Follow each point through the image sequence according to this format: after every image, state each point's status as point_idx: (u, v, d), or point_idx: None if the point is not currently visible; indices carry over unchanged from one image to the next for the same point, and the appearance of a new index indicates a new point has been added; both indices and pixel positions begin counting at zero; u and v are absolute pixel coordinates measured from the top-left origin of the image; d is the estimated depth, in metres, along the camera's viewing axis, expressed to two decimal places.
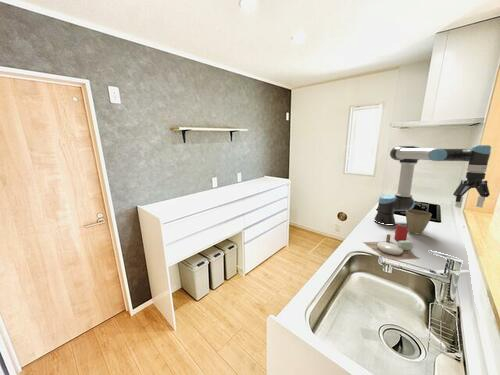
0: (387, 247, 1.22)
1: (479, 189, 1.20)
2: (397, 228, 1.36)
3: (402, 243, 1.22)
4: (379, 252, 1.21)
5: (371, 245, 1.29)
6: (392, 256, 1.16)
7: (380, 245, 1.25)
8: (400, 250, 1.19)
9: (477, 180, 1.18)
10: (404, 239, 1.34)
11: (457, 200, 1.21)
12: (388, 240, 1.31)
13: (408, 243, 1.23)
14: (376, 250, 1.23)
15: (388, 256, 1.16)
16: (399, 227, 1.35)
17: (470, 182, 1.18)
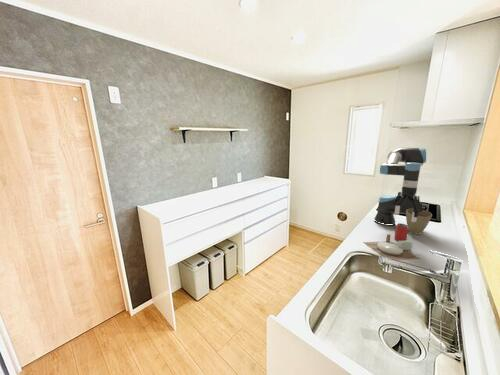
0: (387, 247, 1.22)
1: None
2: (397, 228, 1.36)
3: (402, 243, 1.22)
4: (379, 252, 1.21)
5: (371, 245, 1.29)
6: (392, 256, 1.16)
7: (380, 245, 1.25)
8: (400, 250, 1.19)
9: (407, 194, 1.31)
10: (404, 239, 1.34)
11: None
12: (388, 240, 1.31)
13: (408, 243, 1.23)
14: (376, 250, 1.23)
15: (388, 256, 1.16)
16: (399, 227, 1.35)
17: (402, 194, 1.35)
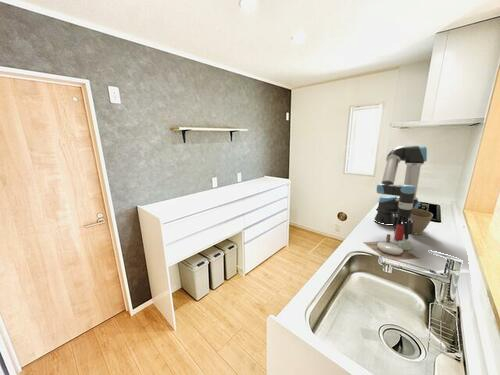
0: (387, 247, 1.22)
1: None
2: (397, 228, 1.36)
3: (402, 243, 1.22)
4: (379, 252, 1.21)
5: (371, 245, 1.29)
6: (392, 256, 1.16)
7: (380, 245, 1.25)
8: (400, 250, 1.19)
9: (403, 215, 1.34)
10: None
11: None
12: (388, 240, 1.31)
13: (408, 243, 1.23)
14: (376, 250, 1.23)
15: (388, 256, 1.16)
16: (399, 227, 1.35)
17: (398, 215, 1.38)
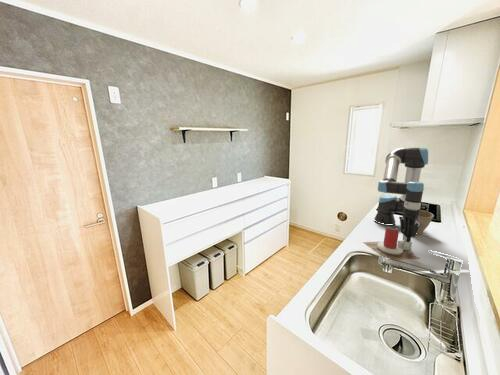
0: None
1: None
2: (386, 232, 1.22)
3: (402, 243, 1.22)
4: (379, 252, 1.21)
5: (371, 245, 1.29)
6: (392, 256, 1.16)
7: (380, 245, 1.25)
8: (400, 250, 1.19)
9: (409, 216, 1.18)
10: (394, 244, 1.20)
11: None
12: None
13: None
14: (376, 250, 1.23)
15: (388, 256, 1.16)
16: (388, 231, 1.20)
17: (403, 216, 1.22)
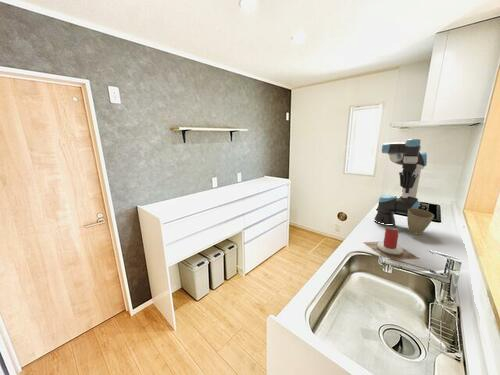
0: None
1: None
2: (390, 233, 1.20)
3: None
4: (379, 252, 1.21)
5: (371, 245, 1.29)
6: (392, 256, 1.16)
7: (384, 248, 1.22)
8: (399, 247, 1.23)
9: (407, 170, 1.35)
10: (396, 243, 1.21)
11: None
12: None
13: None
14: (376, 250, 1.23)
15: (388, 256, 1.16)
16: (393, 232, 1.19)
17: (403, 171, 1.39)
